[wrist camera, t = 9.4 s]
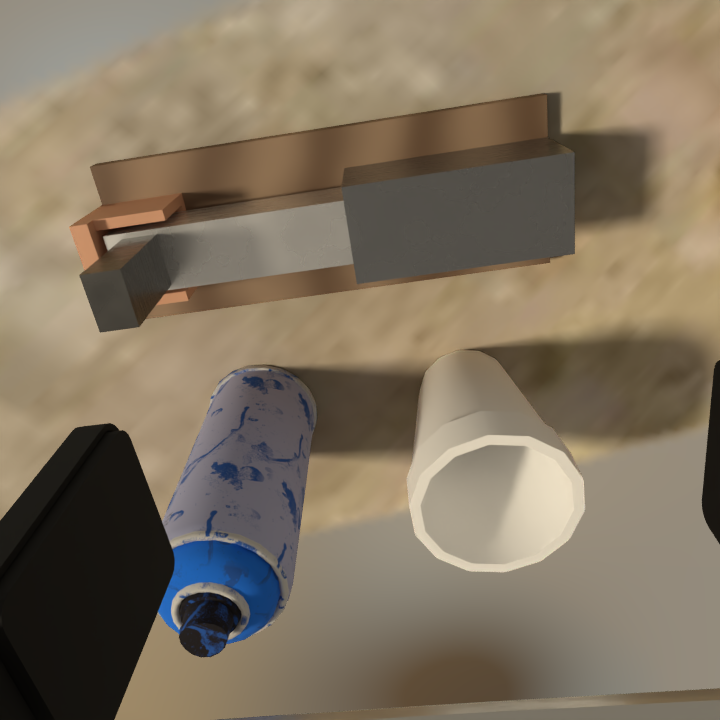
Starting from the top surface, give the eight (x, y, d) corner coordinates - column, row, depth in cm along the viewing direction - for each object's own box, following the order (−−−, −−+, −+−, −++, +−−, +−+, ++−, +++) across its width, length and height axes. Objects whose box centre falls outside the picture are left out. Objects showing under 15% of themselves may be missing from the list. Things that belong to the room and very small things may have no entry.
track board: (542, 93, 38) (547, 94, 37) (545, 257, 42) (550, 262, 41) (96, 163, 39) (89, 166, 39) (144, 313, 44) (139, 319, 43)
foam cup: (502, 455, 49) (544, 586, 37) (384, 429, 48) (390, 555, 36) (549, 346, 45) (614, 455, 33) (421, 314, 44) (442, 416, 32)
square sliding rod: (383, 180, 38) (388, 223, 29) (391, 240, 40) (398, 297, 31) (124, 219, 39) (56, 272, 31) (142, 275, 41) (82, 340, 32)
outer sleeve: (547, 136, 38) (574, 152, 33) (549, 227, 40) (574, 253, 35) (344, 168, 39) (341, 187, 34) (357, 254, 41) (356, 284, 36)
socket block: (181, 193, 39) (158, 213, 35) (204, 276, 42) (185, 305, 37) (102, 205, 40) (69, 226, 35) (129, 287, 42) (101, 317, 38)
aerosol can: (195, 376, 46) (88, 593, 28) (301, 354, 45) (260, 564, 27) (229, 464, 50) (153, 707, 32) (328, 446, 49) (308, 684, 31)
